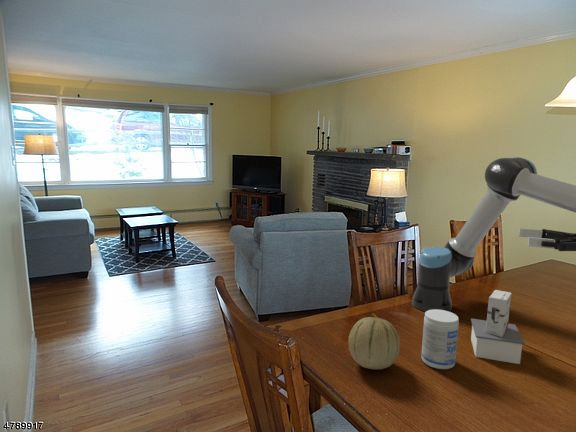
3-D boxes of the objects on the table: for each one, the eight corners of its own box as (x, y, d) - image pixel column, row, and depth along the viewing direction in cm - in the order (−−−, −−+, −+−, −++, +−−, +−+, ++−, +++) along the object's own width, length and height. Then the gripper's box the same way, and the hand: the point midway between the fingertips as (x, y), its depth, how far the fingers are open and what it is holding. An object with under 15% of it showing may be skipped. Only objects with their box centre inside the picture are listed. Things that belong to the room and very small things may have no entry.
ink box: (491, 323, 127) (494, 288, 125) (508, 327, 124) (512, 292, 122) (484, 332, 120) (488, 296, 118) (502, 337, 117) (506, 300, 115)
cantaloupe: (361, 384, 105) (363, 332, 102) (339, 356, 119) (340, 310, 116) (409, 376, 109) (413, 325, 106) (382, 350, 123) (385, 305, 120)
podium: (473, 357, 119) (475, 335, 118) (469, 338, 131) (471, 318, 130) (522, 365, 115) (524, 343, 114) (512, 344, 127) (515, 324, 126)
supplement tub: (452, 374, 110) (457, 325, 107) (417, 365, 115) (421, 317, 112) (456, 358, 118) (461, 312, 116) (424, 350, 123) (427, 306, 120)
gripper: (619, 267, 107) (531, 258, 114) (586, 246, 130) (514, 239, 137) (624, 241, 106) (534, 233, 113) (590, 224, 129) (517, 218, 136)
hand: (523, 236), depth 125 cm, fingers open, 13 cm apart
